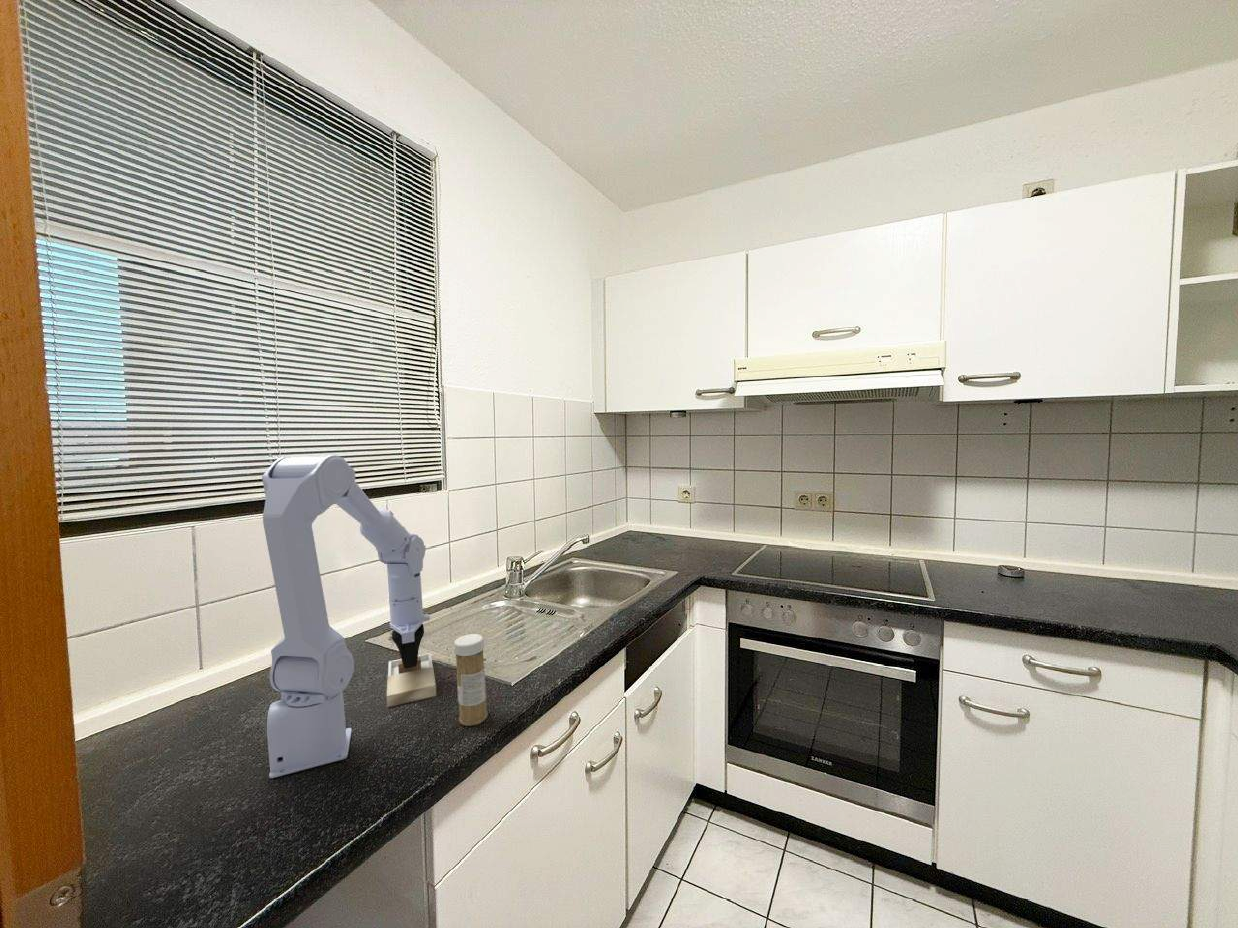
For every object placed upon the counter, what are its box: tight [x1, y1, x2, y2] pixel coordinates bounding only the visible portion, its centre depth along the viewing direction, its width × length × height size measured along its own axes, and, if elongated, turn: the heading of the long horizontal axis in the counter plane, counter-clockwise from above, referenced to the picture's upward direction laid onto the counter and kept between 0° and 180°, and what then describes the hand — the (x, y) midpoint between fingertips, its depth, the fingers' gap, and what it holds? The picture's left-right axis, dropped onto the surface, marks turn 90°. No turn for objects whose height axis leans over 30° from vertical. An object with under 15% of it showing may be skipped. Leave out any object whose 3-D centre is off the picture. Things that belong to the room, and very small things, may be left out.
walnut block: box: [398, 657, 421, 674], centre depth 97 cm, size 4×4×2 cm
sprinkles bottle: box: [453, 633, 488, 727], centre depth 80 cm, size 5×5×14 cm
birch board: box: [386, 666, 437, 708], centre depth 91 cm, size 8×8×2 cm
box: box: [387, 652, 434, 677], centre depth 98 cm, size 8×8×2 cm
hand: (410, 666), depth 95 cm, fingers closed
